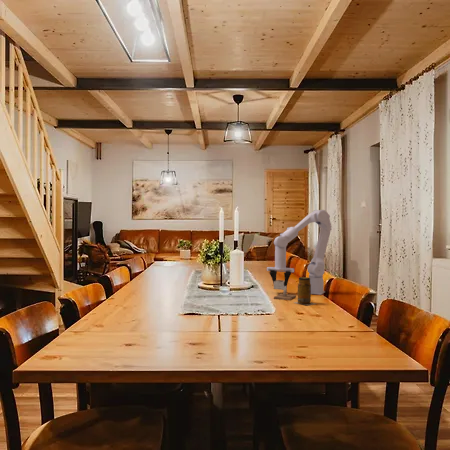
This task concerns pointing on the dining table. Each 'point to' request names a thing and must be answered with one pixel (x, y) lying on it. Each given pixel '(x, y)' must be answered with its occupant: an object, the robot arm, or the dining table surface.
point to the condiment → (304, 291)
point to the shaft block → (285, 296)
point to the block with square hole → (279, 284)
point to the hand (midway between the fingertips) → (280, 285)
